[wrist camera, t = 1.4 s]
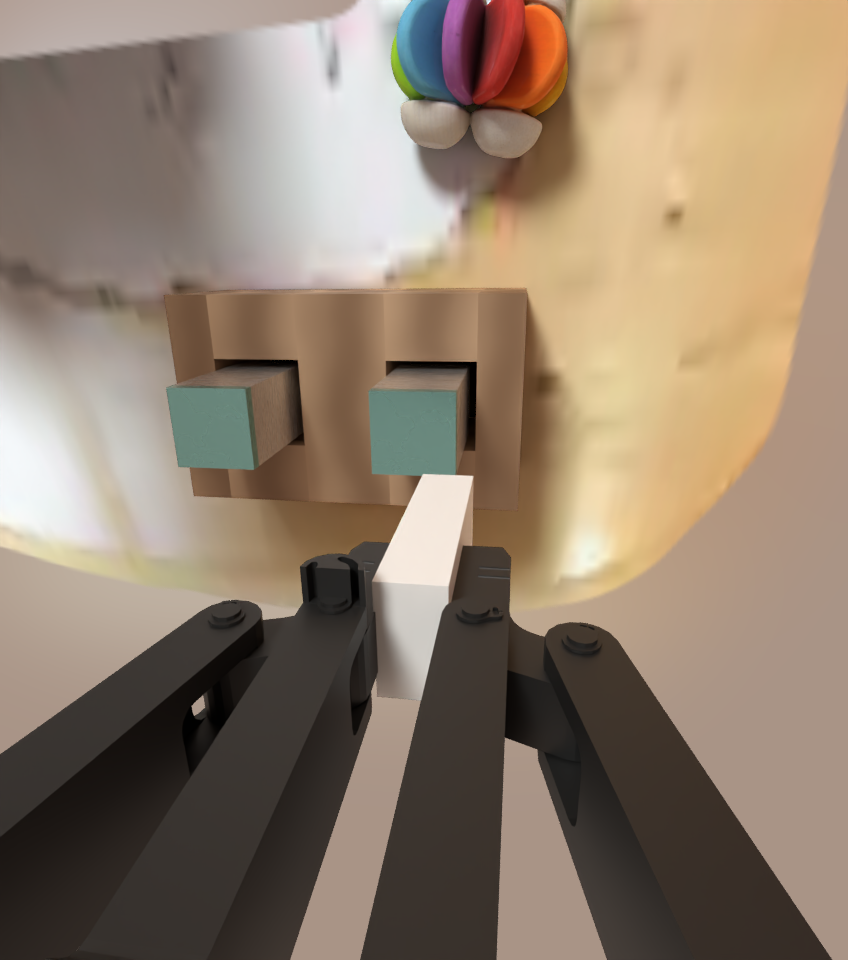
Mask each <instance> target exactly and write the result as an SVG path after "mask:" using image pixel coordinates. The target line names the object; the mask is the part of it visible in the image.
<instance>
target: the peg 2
mask: <svg viewBox="0 0 848 960" xmlns="http://www.w3.org/2000/svg"><path fill="white" fill-rule="evenodd" d="M469 386H470V365H412V364H401V365H399V366H398V367H397V368H396V369H395V370H393V371H392V372H391V373H390V374H388V375H387V376H386V377H385V378H384V379H382V380H381V381H380V382H379V383H377V384H376V385H375V386H374V387H373V388H371V389H370V390H369V391H368V392H369V416H370V439H371V463H372V474H385V475H411V476H422V475H423V474H436V475H456V474H457V470H458V467H459V464H460V461H461V457H462V454H463V451H464V447H465V444H466V441H467V437H468V434H469Z"/></svg>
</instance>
